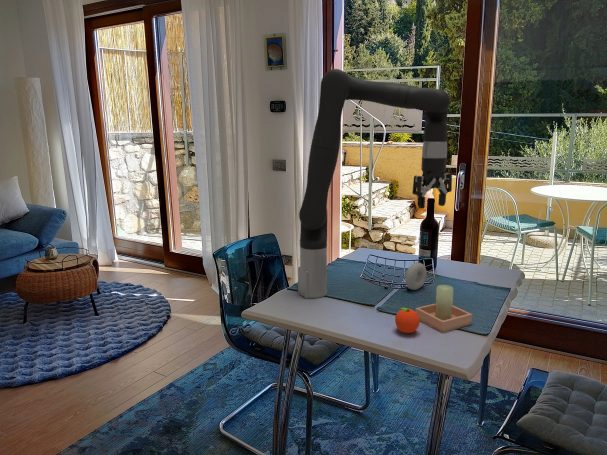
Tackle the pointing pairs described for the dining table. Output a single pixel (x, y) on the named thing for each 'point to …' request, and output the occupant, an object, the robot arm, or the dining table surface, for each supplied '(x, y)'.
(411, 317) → the clementine
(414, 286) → the donut
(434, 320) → the dish
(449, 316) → the pale green cylinder
